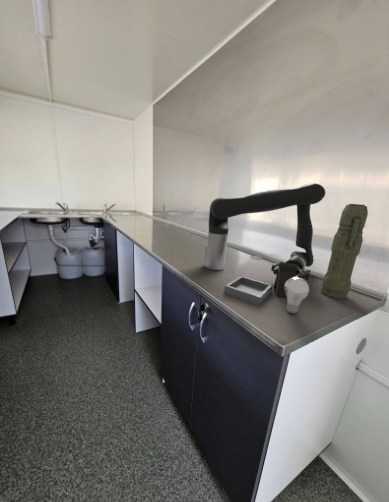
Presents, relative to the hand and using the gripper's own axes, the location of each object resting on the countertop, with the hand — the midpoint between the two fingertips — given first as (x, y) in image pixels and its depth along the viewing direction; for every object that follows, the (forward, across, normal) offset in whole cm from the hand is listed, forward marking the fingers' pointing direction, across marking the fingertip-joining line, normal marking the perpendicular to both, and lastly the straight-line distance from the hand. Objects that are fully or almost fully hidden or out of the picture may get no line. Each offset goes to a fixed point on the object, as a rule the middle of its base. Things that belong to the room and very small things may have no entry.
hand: (286, 275), depth 81 cm
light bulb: (+15, +6, +7) cm, 18 cm away
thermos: (-13, +16, +7) cm, 22 cm away
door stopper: (+1, 0, +7) cm, 7 cm away
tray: (+11, -10, +7) cm, 16 cm away
